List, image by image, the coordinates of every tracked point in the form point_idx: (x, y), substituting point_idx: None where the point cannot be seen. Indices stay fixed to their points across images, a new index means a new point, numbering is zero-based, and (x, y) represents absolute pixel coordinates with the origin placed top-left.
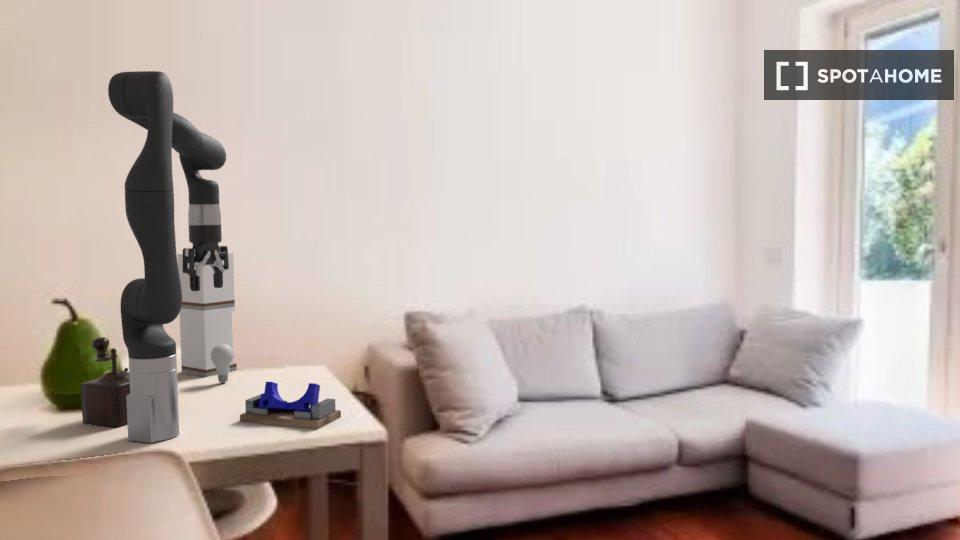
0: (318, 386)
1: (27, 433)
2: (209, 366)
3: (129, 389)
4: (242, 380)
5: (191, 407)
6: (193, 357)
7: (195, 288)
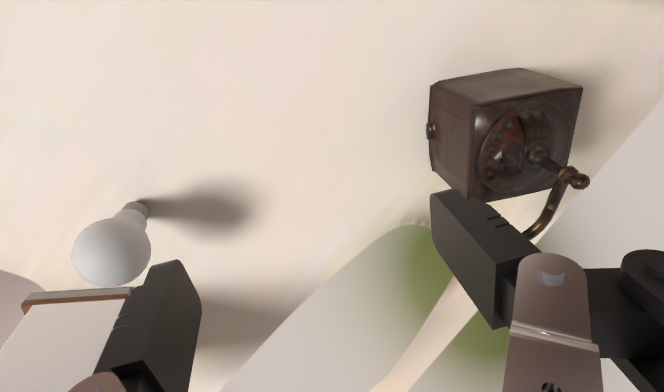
0: None
1: None
2: (111, 304)
3: (528, 90)
4: (80, 197)
5: (337, 72)
6: None
7: (476, 200)
